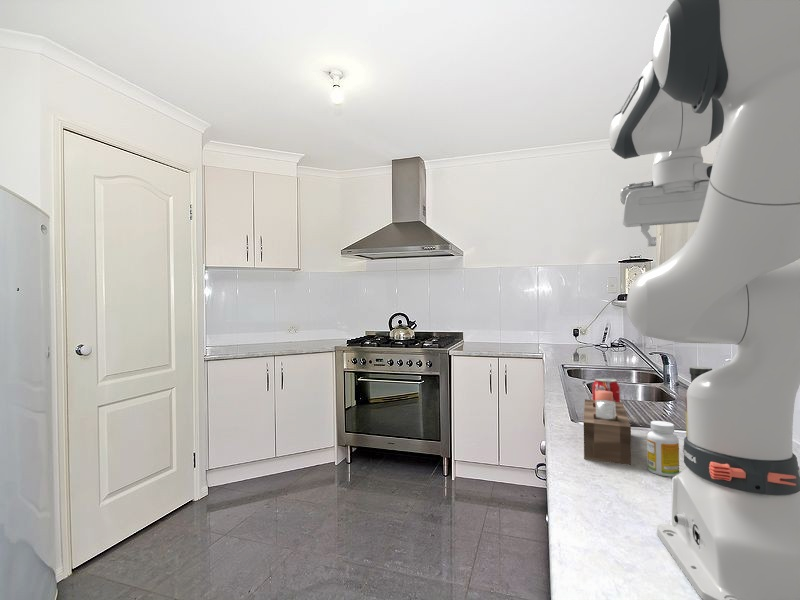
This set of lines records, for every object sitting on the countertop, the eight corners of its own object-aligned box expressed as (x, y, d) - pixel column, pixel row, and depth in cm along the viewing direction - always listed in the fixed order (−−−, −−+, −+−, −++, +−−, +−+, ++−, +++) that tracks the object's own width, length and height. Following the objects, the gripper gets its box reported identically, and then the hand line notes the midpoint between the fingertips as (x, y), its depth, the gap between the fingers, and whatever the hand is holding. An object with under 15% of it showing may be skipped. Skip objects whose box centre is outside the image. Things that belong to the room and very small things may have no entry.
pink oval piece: (613, 422, 101) (613, 394, 101) (595, 420, 103) (595, 392, 103) (612, 418, 105) (612, 391, 105) (595, 416, 106) (595, 389, 106)
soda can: (588, 420, 119) (587, 379, 119) (600, 416, 123) (599, 376, 124) (613, 425, 114) (612, 382, 114) (624, 421, 118) (624, 379, 118)
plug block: (631, 465, 85) (630, 427, 85) (584, 459, 89) (583, 422, 89) (622, 433, 107) (622, 402, 107) (585, 428, 111) (584, 399, 111)
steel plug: (616, 436, 90) (615, 404, 90) (596, 434, 92) (595, 403, 92) (615, 431, 94) (614, 401, 94) (596, 429, 95) (595, 399, 95)
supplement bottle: (682, 472, 82) (682, 423, 82) (674, 479, 78) (673, 428, 78) (652, 464, 86) (652, 418, 86) (643, 471, 82) (642, 422, 82)
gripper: (621, 181, 87) (622, 246, 86) (743, 166, 78) (744, 238, 78) (619, 188, 92) (620, 249, 92) (732, 175, 84) (734, 243, 83)
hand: (678, 244), depth 85 cm, fingers open, 8 cm apart
